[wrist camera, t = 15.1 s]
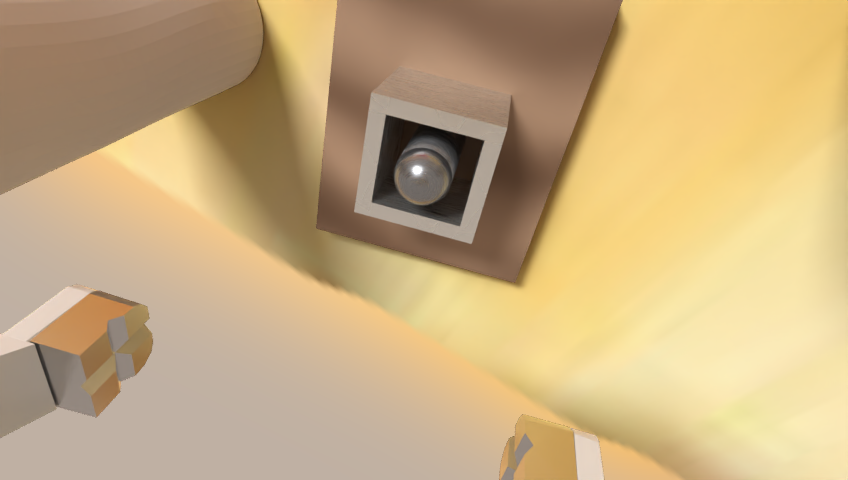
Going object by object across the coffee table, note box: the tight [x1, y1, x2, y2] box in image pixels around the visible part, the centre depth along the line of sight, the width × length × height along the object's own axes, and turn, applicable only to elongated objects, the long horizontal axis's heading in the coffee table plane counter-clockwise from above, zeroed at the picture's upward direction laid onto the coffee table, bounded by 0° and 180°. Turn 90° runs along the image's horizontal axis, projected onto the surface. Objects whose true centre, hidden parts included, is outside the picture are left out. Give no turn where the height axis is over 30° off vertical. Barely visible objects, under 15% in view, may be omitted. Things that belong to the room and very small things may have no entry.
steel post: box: [394, 124, 466, 205], centre depth 22 cm, size 2×2×6 cm
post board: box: [316, 0, 623, 283], centre depth 25 cm, size 15×12×2 cm
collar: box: [354, 66, 511, 244], centre depth 22 cm, size 5×5×5 cm
